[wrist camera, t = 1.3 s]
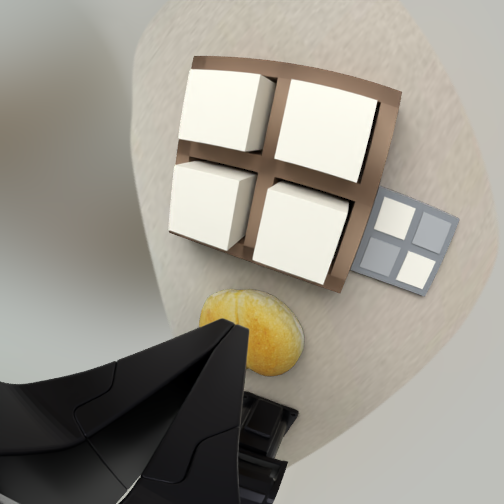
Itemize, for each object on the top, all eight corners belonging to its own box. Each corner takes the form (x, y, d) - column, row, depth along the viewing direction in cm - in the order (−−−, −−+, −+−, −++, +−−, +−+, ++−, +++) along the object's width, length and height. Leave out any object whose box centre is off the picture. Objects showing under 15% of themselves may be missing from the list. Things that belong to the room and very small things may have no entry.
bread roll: (306, 366, 24) (295, 398, 21) (217, 351, 27) (198, 378, 24) (306, 287, 21) (294, 318, 18) (202, 279, 24) (176, 302, 21)
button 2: (356, 175, 15) (356, 182, 13) (288, 155, 16) (274, 158, 14) (373, 107, 13) (377, 100, 11) (302, 89, 14) (291, 79, 12)
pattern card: (423, 293, 17) (424, 297, 17) (350, 267, 19) (350, 270, 18) (457, 217, 15) (460, 219, 14) (378, 185, 16) (379, 186, 16)
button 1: (329, 262, 18) (322, 284, 15) (268, 241, 19) (252, 259, 16) (349, 201, 16) (347, 213, 13) (282, 180, 17) (267, 188, 14)
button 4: (263, 149, 16) (244, 151, 14) (204, 136, 17) (178, 138, 15) (276, 84, 15) (260, 74, 12) (215, 77, 16) (190, 69, 13)
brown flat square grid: (342, 275, 19) (340, 293, 17) (187, 222, 22) (169, 232, 20) (396, 98, 14) (402, 91, 11) (212, 63, 17) (193, 56, 14)
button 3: (246, 234, 19) (226, 250, 17) (192, 217, 20) (168, 229, 18) (258, 173, 17) (239, 180, 15) (200, 159, 18) (174, 165, 16)
